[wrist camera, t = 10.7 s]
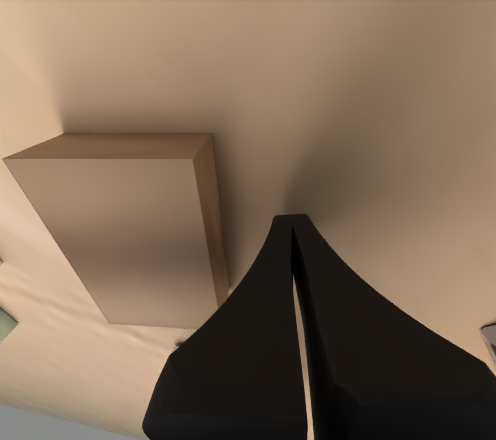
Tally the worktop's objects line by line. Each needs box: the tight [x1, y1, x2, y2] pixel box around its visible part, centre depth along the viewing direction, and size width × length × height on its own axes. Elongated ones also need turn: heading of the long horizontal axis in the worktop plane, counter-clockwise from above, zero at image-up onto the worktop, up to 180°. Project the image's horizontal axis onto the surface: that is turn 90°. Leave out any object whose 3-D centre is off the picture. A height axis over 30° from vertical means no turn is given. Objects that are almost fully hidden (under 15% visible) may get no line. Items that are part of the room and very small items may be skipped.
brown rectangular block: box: [2, 133, 229, 329], centre depth 11 cm, size 9×6×3 cm, turn 2°
